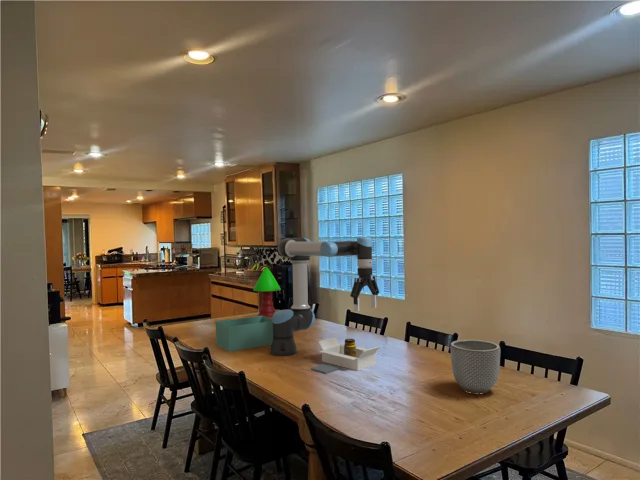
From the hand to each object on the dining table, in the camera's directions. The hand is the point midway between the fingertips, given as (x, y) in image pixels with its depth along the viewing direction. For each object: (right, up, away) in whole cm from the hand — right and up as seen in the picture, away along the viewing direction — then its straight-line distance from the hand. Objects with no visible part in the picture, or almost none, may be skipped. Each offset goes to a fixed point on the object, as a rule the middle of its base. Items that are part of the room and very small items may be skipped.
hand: (365, 309), depth 226 cm
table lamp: (-60, -28, +88) cm, 111 cm away
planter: (+42, -28, -40) cm, 64 cm away
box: (-68, -29, +47) cm, 87 cm away
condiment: (-8, -28, +3) cm, 30 cm away
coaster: (-20, -28, -8) cm, 36 cm away
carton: (-8, -28, +3) cm, 29 cm away
